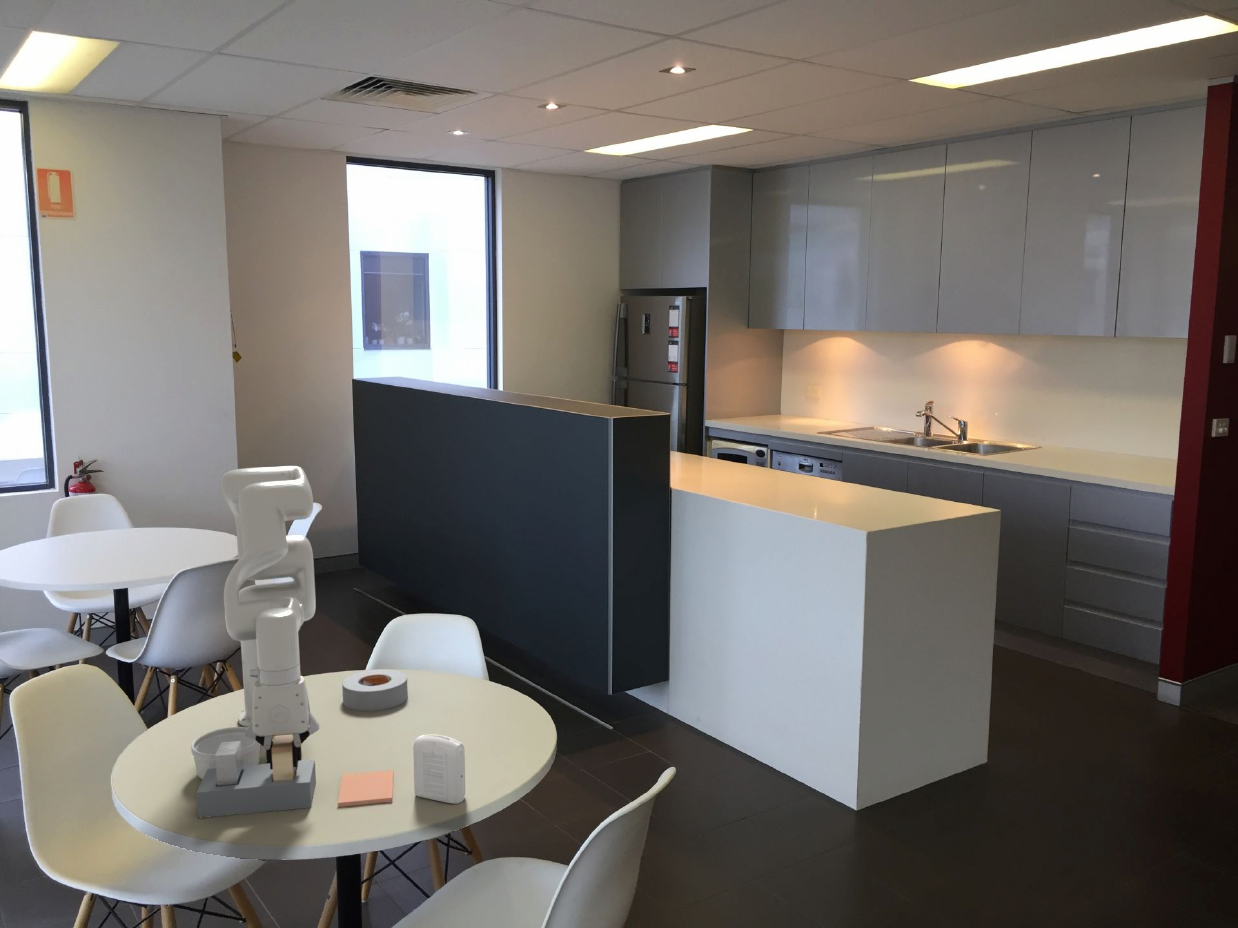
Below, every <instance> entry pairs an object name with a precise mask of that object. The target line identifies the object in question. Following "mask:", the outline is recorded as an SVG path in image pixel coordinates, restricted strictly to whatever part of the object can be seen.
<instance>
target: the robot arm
mask: <svg viewBox="0 0 1238 928" xmlns="http://www.w3.org/2000/svg"><path fill="white" fill-rule="evenodd" d="M220 481H221V482H220V485H221V487H220V488H221V491H222V495H223V499H224V500H225V502H226V504H227V505H228V507H229V509H230V511H231V513H232V515H233V517H234V520H235V521H234V522H235V526H236V527H235V528H236V542H237V543H236V544H237V545H236V546H237V558H238V559H237V560H238V561H237V562H236V563H235V564H234V566H233V567H232V568H231V570H230V571H229V573H228V576H227V578H226V580H225V583H224V587H223V606H224V619H225V625H226V627H225V628H226V631H227V634H228V636H229V637H230V638H231V639H232V640H234V641H237V642H240V648H241V649H240V650H241V663H242V664H241V666H242V680H243V681H242V682H243V697H244V710H243V711H241V713H240V714H238V719H237V721H238V724H239V725H241V727H247V730H246V732H245V736H247V737H249V738H251V739H254V740H256V741H257V742H258V743H259V744H260V746H262V747H263V749H264V750H265V755H266V764H268V763H270V769H273V766H272V746H273V743H274V740H273V738H274V737H275V736H278V735H290V734H292V735H293V740H294V743H293V748H292V754H293V767H297V765H298V761H301V760H302V745H303V743H304V742H305V741H306V740H307V739H308V738H309V737H310V736H311V735H313V734H314V733H316V732H318V731H319V730H320V727H321V726H320V723H319V722H318V721H317V719H316V718H315V716H314V715H313V714H312V713H311V707H310V699H309V691H308V688H307V683H306V680H305V677H304V676H302V675H301V661H300V660H301V659H300V643H299V642H300V641H299V639H300V638H299V631H300V630H301V627H302V626H303V625H304V622H307V621H309V620H311V619H312V618H314V615H315V613H316V606H317V605H316V602H317V601H316V599H317V598H316V582H315V579H316V578H315V565H314V563H315V561H314V553H313V548H312V544H311V542H310V541H309V539H308V538H307V537H306V536H305V535H300V534H291V535H287V530H286V529H287V528H286V523H285V522H289V521H298V520H306V519H309V518H310V517H311V516H312V513H313V511H314V497H313V496H314V495H313V492H312V487H311V484H310V481H309V480H308V477H307V474H306V472H305V471H304V469H303V468H302V467H300V466H298V465H284V466H283V465H281V466H265V467H262V466H261V467H246V468H238V469H237V468H236V469H232V470H229V471H227V472H225V473H224V474H223V475H222V477H221V480H220ZM285 578H286V579H287V578H290V579H293V580H291V581H290V580H289V581H282V582H271V583H270V582H269V583H261V584H260V583H259V584H253V585H249V586H246V587H244V588H241V587H242V585H243V584H244V583H245V582H246V581H247V580H248V581H262V580H263V581H265V580H274V579H276V580H277V579H285ZM240 588H241V589H240Z"/></svg>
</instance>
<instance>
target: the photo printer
mask: <svg viewBox="0 0 1238 928" xmlns="http://www.w3.org/2000/svg"><path fill="white" fill-rule="evenodd" d="M412 749H413V752H412V753H413V782H414V783H413V786H414V787H413V789H414V795H415V796H417V797H420V798H424V799H429V800H433V801H439V802H443V803H446V804H447V803H449V804H454V805H456V804H460V803H462V802H463V801H464V800H465V796H466V766H465V765H466V764H465V763H466V761H465V760H466V759H465V758H466V757H465V756H466V755H465V752H466V751H465V746H464V744H463V743H462V742H460V741H459V740H457V739H455V738H452V737H449V736H446V735H441V734H431V733H429V734H422V735H419V736H418V737H416V738H415V741H414V743H413V748H412Z"/></svg>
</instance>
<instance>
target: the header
mask: <svg viewBox="0 0 1238 928" xmlns="http://www.w3.org/2000/svg"><path fill="white" fill-rule="evenodd" d="M296 768H297V771H296V775H295V779H294V780H285V781H274V782H273V769H270V763H268V764H267V763H259V764H256V765H245V766H242V771H243V774H242V777H241V780H240V782H239V785H231V786H220V787H217V774H216V768H212V769H207V771H206V773H205V775H204V778H203V780H202V779H201V782H200V785H199V787H198V789H197V791H196V802H197V804H196V805H197V806H196V807H197V818H198V817H206V818H210V817H209V816H216V817H223V816H222V815H226V816H232V815H231V814H236V815H245V814H255V813H264V812H273V811H285V810H295V809H296V810H297V809H304V808H312V805H313V799H314V794H315V789H316V784H317V777H316V773H317V772H316V759H314V758H312V759H301V761H298V765H297V767H296Z"/></svg>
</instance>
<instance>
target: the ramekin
mask: <svg viewBox="0 0 1238 928" xmlns="http://www.w3.org/2000/svg"><path fill="white" fill-rule="evenodd" d="M246 730H247V727H244V726H233V727H232V726H231V727H224V728H219V729H215V730H211V731H209V732H206V733H203V734H201V735H200V736H197V738H195V740H193V742H192V743H191V748H190V749H191V754H192V756H193V760H194V767H195V770H196V774H197V776H198V777H199V778H200V779H201V780H202V779H203V778H204V775H205V773H206V771H207V769H212V768H216V760H215V755H216V753H217V751H218V749H219V746H220V744H221V742H233V741H241V755H242V766H245V765H256V764H260V763H259V762H260V752H261V744H259V743H258V742H257V741H256V740H254V739H251V738H249V737H247V736H245V732H246Z"/></svg>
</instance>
